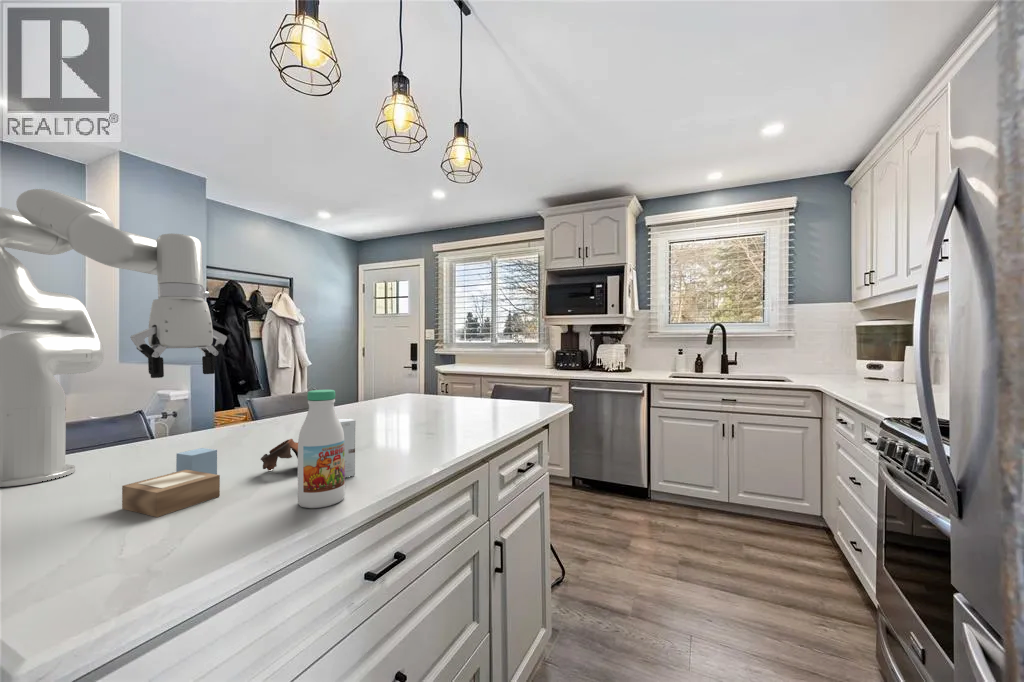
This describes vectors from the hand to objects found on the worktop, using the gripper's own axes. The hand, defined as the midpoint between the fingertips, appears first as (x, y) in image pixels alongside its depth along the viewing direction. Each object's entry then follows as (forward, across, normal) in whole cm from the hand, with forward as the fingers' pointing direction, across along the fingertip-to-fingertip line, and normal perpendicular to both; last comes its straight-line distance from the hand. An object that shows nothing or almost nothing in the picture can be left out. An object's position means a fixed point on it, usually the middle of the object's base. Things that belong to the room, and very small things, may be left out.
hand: (184, 375), depth 86 cm
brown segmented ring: (+23, -14, +13) cm, 30 cm away
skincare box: (+24, -14, +27) cm, 38 cm away
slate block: (+22, -2, 0) cm, 22 cm away
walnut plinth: (+22, +8, +10) cm, 26 cm away
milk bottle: (+24, -2, +35) cm, 42 cm away
